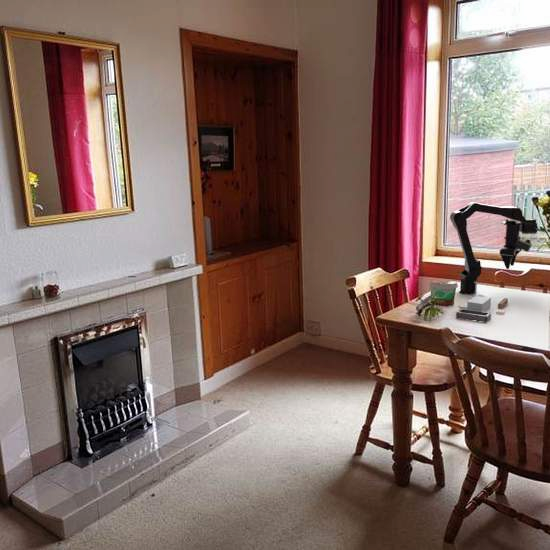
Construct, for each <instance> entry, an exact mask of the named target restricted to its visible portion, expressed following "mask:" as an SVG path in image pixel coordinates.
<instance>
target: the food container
mask: <svg viewBox="0 0 550 550" xmlns="http://www.w3.org/2000/svg"><path fill="white" fill-rule="evenodd" d="M428 286H429V288H430V295H431V296H433V294H435V296H436V298H437V307H451V306H454V303H455V297H456V291H457V288H458V287H459V286H458V282H455V283H448V282H433V281H431V280H430V281H429V283H428ZM435 296H434V297H433V299H434V298H435ZM434 300H435V299H434ZM434 306H436V301H435V304H434Z"/></svg>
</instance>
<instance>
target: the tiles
mask: <svg viewBox="0 0 550 550" xmlns="http://www.w3.org/2000/svg"><path fill="white" fill-rule="evenodd" d="M459 308H461V309H467V305H466V304H461V305H459ZM495 314H496V315H502V314H503V315H505V314H506V310H504V309H497V310H496V311H495Z"/></svg>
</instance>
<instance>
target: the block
mask: <svg viewBox="0 0 550 550" xmlns="http://www.w3.org/2000/svg"><path fill="white" fill-rule="evenodd" d="M491 302H492V297H491V296H478V295H475V296H474V297H472V298H471V299H469V300H468V301H467V309H468V310H475V311H482V312H488V311H489V310H490V309H491V305H492V304H491ZM488 309H489V310H488ZM487 310H488V311H487Z"/></svg>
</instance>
